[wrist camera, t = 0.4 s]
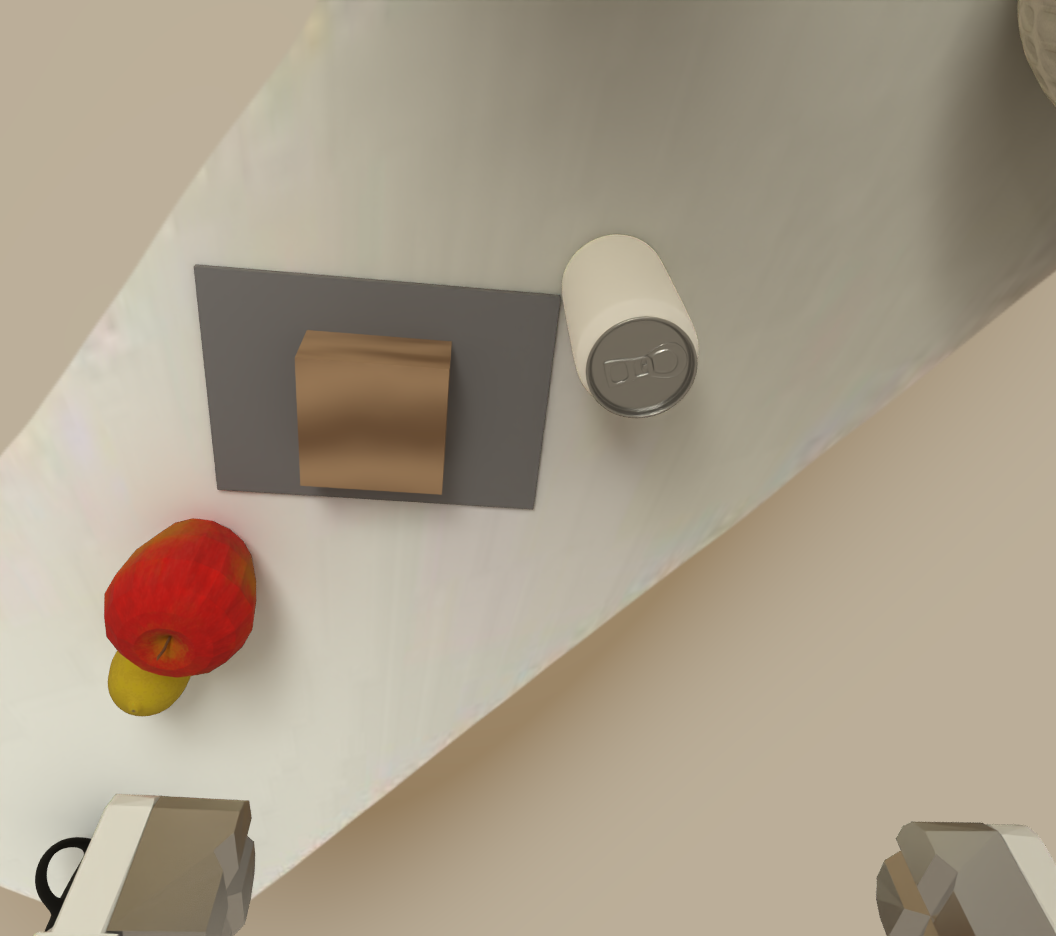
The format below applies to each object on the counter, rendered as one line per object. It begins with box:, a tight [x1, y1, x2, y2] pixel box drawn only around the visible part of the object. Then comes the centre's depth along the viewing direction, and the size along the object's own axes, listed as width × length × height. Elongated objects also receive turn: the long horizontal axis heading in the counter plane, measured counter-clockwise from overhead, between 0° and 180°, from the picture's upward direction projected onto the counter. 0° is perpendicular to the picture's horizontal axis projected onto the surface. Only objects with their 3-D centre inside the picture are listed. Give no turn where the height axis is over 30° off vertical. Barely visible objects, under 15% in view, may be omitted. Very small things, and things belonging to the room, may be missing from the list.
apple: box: [104, 518, 256, 678], centre depth 58 cm, size 9×9×12 cm
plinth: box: [295, 330, 452, 495], centre depth 55 cm, size 9×9×4 cm
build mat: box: [194, 265, 561, 509], centre depth 57 cm, size 16×22×1 cm
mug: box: [35, 837, 91, 932], centre depth 77 cm, size 12×9×10 cm
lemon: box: [108, 651, 190, 716], centre depth 64 cm, size 6×6×8 cm
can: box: [562, 234, 699, 418], centre depth 49 cm, size 6×6×12 cm
